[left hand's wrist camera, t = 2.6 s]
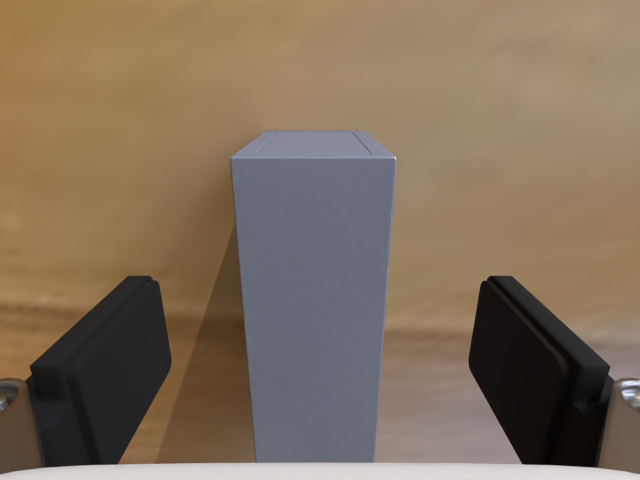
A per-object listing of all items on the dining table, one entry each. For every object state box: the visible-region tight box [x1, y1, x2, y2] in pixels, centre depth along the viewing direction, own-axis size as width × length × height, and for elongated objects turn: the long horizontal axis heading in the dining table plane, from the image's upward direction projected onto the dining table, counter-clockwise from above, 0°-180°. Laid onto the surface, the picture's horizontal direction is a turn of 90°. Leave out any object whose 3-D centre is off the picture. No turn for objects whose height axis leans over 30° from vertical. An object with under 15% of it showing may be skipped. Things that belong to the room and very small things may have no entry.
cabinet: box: [230, 131, 396, 463], centre depth 22 cm, size 19×6×10 cm, turn 0°
